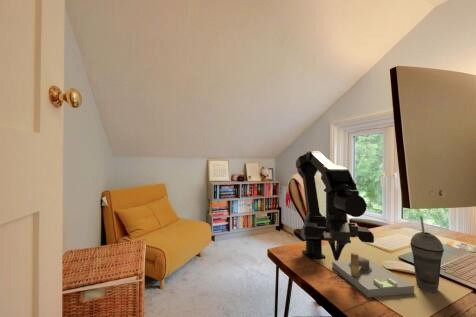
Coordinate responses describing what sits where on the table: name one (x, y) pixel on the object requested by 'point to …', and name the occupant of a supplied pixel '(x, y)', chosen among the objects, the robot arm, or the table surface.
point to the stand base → (374, 280)
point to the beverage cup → (427, 259)
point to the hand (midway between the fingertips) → (336, 260)
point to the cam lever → (358, 264)
